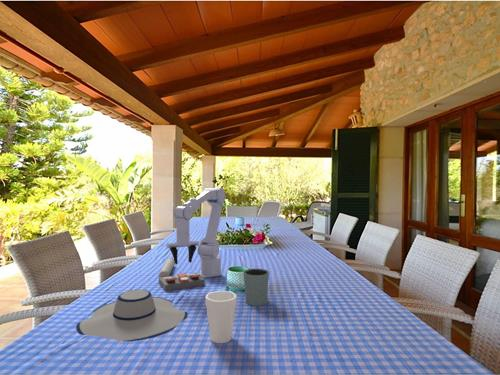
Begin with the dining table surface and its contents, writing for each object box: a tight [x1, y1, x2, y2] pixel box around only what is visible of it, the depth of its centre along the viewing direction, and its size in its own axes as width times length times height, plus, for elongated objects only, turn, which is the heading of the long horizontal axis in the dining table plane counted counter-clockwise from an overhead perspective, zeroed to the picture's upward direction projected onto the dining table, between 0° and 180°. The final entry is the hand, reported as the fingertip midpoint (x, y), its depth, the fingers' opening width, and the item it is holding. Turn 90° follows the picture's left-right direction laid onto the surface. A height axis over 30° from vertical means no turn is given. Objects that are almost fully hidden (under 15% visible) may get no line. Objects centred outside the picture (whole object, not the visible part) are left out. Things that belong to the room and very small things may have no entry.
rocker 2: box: [189, 273, 202, 277], centre depth 157 cm, size 4×6×1 cm, turn 27°
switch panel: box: [158, 272, 206, 292], centre depth 157 cm, size 18×12×3 cm, turn 117°
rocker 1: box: [176, 272, 189, 282], centre depth 154 cm, size 4×6×1 cm, turn 27°
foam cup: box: [205, 290, 237, 344], centre depth 104 cm, size 10×9×13 cm
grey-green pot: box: [243, 268, 270, 307], centre depth 135 cm, size 10×10×12 cm
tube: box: [158, 257, 176, 279], centre depth 175 cm, size 5×5×25 cm
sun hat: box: [76, 289, 188, 342], centre depth 119 cm, size 36×36×9 cm
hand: (183, 262), depth 154 cm, fingers open, 6 cm apart
